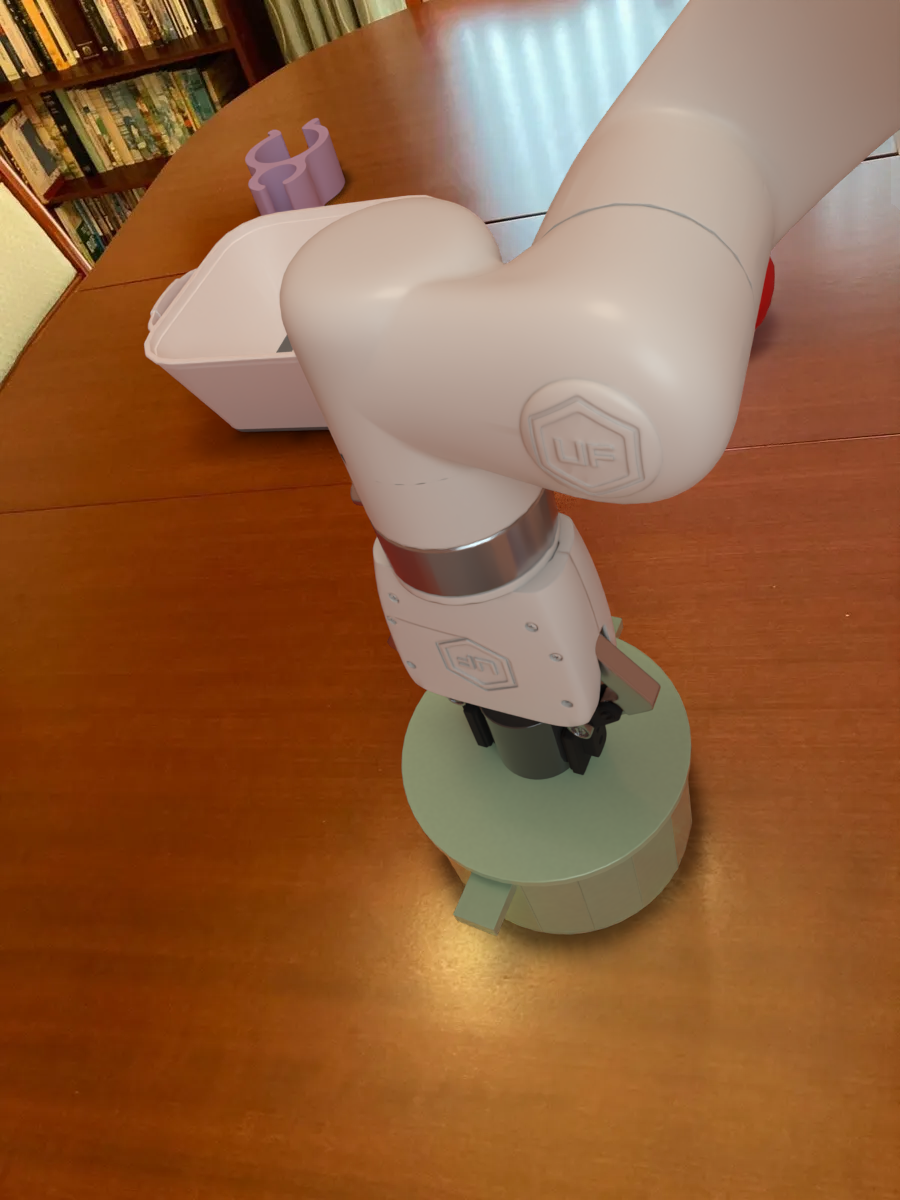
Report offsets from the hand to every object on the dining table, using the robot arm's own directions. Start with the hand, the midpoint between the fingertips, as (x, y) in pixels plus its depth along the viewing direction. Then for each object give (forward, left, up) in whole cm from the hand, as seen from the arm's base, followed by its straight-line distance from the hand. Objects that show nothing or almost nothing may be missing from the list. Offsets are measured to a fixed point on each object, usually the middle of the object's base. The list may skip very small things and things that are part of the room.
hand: (539, 736), depth 50 cm
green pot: (0, 0, -10) cm, 10 cm away
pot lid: (0, 0, -1) cm, 1 cm away
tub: (+41, -40, -10) cm, 58 cm away
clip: (+70, -78, -10) cm, 105 cm away
